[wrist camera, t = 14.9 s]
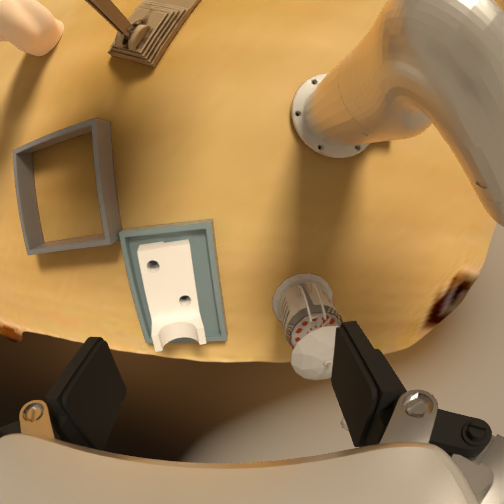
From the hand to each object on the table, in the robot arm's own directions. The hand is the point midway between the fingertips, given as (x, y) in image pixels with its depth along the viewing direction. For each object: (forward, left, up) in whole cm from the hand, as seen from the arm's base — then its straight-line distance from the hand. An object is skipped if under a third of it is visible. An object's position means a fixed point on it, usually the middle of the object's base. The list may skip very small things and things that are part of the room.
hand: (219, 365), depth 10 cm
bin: (+26, -8, -30) cm, 41 cm away
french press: (-9, +13, -31) cm, 34 cm away
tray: (+10, +9, -30) cm, 33 cm away
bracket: (+10, +9, -30) cm, 32 cm away
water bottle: (+31, -38, -31) cm, 58 cm away
